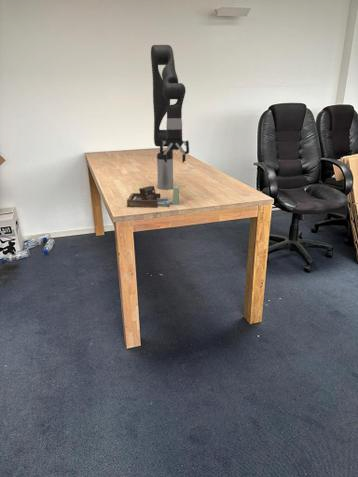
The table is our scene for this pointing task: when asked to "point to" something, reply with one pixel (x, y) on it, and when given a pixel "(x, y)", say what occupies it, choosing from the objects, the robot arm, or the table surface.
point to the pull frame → (167, 200)
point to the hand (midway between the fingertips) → (174, 162)
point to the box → (148, 193)
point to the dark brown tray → (142, 201)
